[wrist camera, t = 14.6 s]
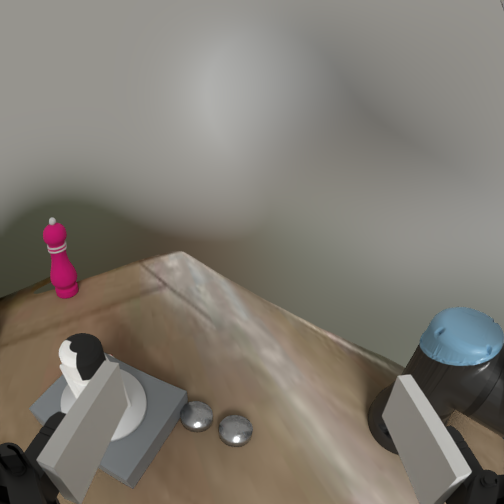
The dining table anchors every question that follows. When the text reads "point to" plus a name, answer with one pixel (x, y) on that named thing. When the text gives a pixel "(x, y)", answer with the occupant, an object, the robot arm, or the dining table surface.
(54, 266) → the pepper mill
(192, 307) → the dining table surface
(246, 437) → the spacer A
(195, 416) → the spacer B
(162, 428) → the scale
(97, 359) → the medicine bottle
